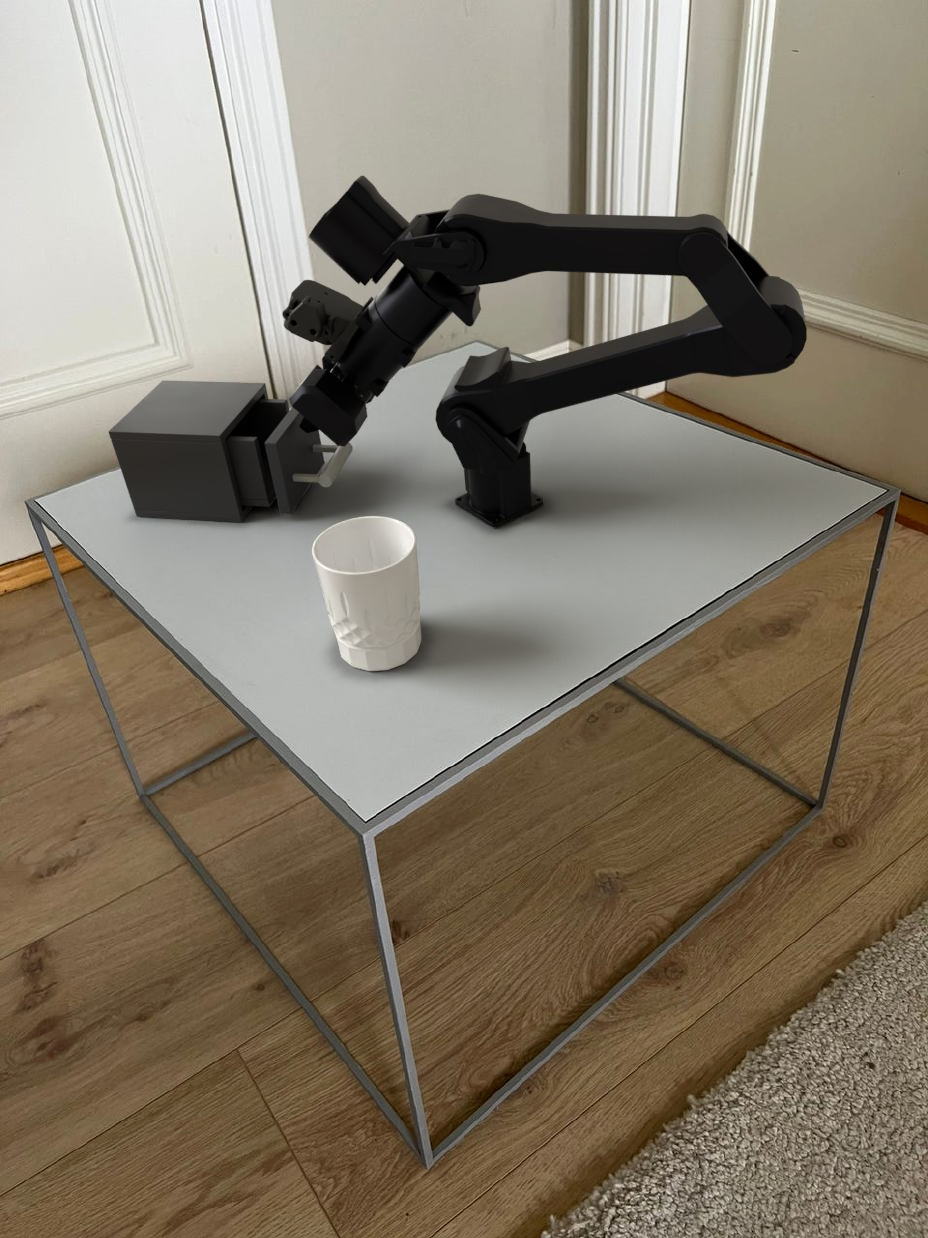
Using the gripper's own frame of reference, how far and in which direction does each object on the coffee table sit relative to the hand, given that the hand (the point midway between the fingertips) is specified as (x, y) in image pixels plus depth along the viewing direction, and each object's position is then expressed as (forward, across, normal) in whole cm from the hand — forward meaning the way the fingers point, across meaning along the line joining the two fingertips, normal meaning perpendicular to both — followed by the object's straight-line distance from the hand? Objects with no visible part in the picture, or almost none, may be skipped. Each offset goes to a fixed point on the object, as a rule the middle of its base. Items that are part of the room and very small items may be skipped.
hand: (304, 428), depth 92 cm
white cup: (-4, +22, +15) cm, 27 cm away
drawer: (+8, 0, +2) cm, 8 cm away
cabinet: (+14, 0, -3) cm, 14 cm away
